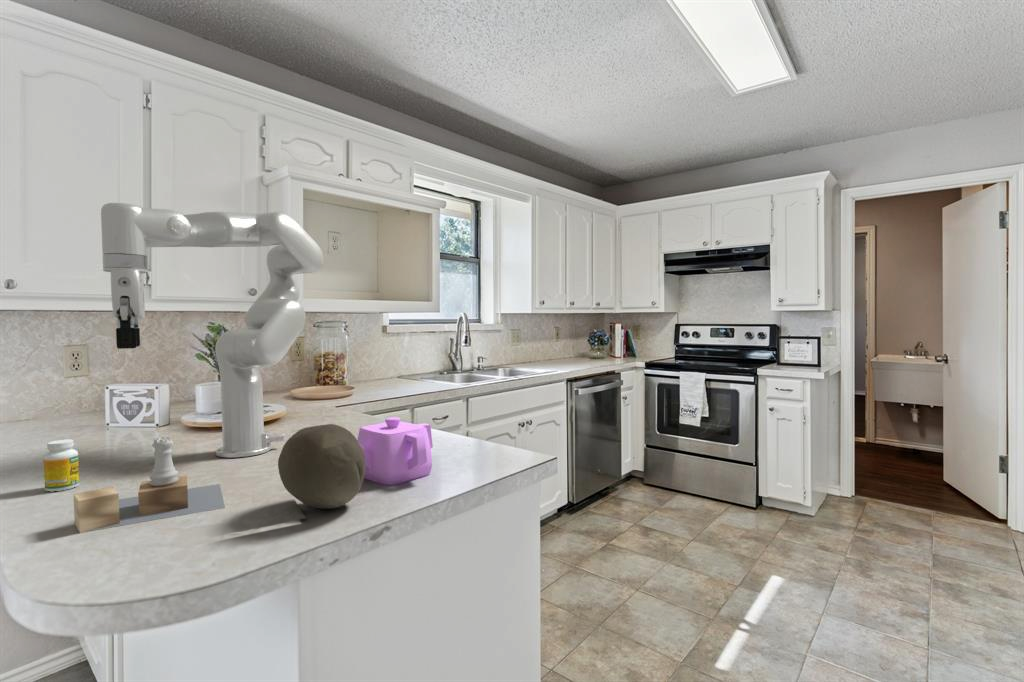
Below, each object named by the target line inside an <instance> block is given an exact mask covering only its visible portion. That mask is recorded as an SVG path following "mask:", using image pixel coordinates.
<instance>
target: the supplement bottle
mask: <svg viewBox="0 0 1024 682" xmlns="http://www.w3.org/2000/svg"><path fill="white" fill-rule="evenodd" d="M74 445H75V444H74V440H73V439H71V438H70V439H67V438H65V439H59V440H53V441H49V442H47V444H46V447H47V451H48V452H46V453H45V454H44V456H43V474H44V476H43V477H44V478H43V479H44V490H45V492H48V491H49V493H55V492H54V491H58V492H63V491H62V490H65V491H68V490H67V489H69V490H72V489H71V488H73V489H75V488H78V487H79V486H80V466H79V463H80V462H79V452H78V450H76V449H75V448H74ZM74 487H75V488H74Z"/></svg>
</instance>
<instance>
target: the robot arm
mask: <svg viewBox="0 0 1024 682" xmlns="http://www.w3.org/2000/svg"><path fill="white" fill-rule="evenodd" d="M100 219H101V222H100V224H101V226H100V227H101V246H102V247H101V249H102V271H103V272H105V273H106V272H107V273H110V290H111V291H110V292H111V305H112V313H113V314H112V315H113V318H114V319H116V328H115V338H116V349H118V350H119V349H121V350H122V349H124V350H125V349H136V348H137V347H140V346H141V335H140V333H141V331H140V327H139V320H144V319H145V318H146V310H145V287H144V277H143V274H148V273H149V260H148V258H149V257H148V248H186V247H187V248H188V247H189V248H191V247H192V248H193V247H194V248H239V247H241V248H242V247H245V248H247V247H249V248H251V247H254V248H255V247H257V248H260V247H271V246H273V247H271V248H270V249H269V250H268V252H267V254H266V255H267V256H266V264H267V266H266V267H267V269H268V274H269V282H268V285H267V286H266V288H265V289H264V290H263V292H262V293H261V294H260V295H259V296H258V298H256V300H255V302H253V304H252V305H251V306H250V307H249V309H248V310H247V312H246V314H245V318H244V323H245V326H246V328H234V329H230V330H227V331H225V332H224V333H222V334H221V335H220V336H219V337H218V339H217V340H216V343H215V349H214V351H215V358H216V360H217V366H218V369H219V376H220V377H219V378H220V398H221V399H220V401H221V429H222V430H221V432H222V437H221V438H222V446H221V447H218V448H217V449H216V450H215V455H216V456H217V457H220V458H229V459H230V458H232V459H233V458H234V459H235V458H244V457H251V456H257V455H261V454H264V453H267V452H269V451H270V450H271V449H272V443H273V442H283V441H285V435H284V433H272V434H270V433H267V432H266V431H265V427H264V425H265V424H264V421H265V420H264V394H263V392H264V391H263V390H264V385H263V383H264V382H263V379H262V375H261V372H260V369H259V368H268V367H273V366H275V365H276V364H278V363H280V361H281V360H282V359H283V358H284V357H285V356H286V355H287V353H288V352H289V350H290V348H291V347H292V345H294V343H295V342H296V340H297V338H299V336H300V335H301V333H302V331H303V330H304V327H305V324H306V318H307V317H306V316H307V315H306V310H305V308H304V306H303V305H302V304H301V303H300V302H299V301H298V300H299V297H300V288H299V284H298V281H297V277H296V275H298V274H312V273H316V272H317V271H319V270H321V268H322V266H323V265H324V253H323V251H322V249H321V247H320V246H319V244H318V243H317V242H316V241H315V240H314V239H313V238H312V237H311V236H310V234H308V232H306V230H305V229H304V228H303V227H302V226H301V225H300V224H299V223H298V222H297V221H296V220H295V219H294V218H293V217H291V216H290V215H288V214H287V213H285V212H284V211H283V212H282V211H270V212H264V213H263V212H262V213H250V212H249V213H248V212H229V211H206V212H200V213H190V214H182V213H181V212H179V211H176V210H173V209H167V208H152V207H151V208H150V207H149V208H148V207H142V206H139V205H136V204H130V203H123V202H107V203H104V204H103V205H102V206H101V209H100Z"/></svg>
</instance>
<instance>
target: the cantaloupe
mask: <svg viewBox="0 0 1024 682" xmlns="http://www.w3.org/2000/svg"><path fill="white" fill-rule="evenodd" d="M357 440H358V438H356V436H355V435H354V434H353V433H352V432H351V431H349V430H348V429H347V428H345V427H343V426H341V425H338V424H334V423H328V424H320V425H313V426H308V427H304V428H301V429H299V430H298V431H297V432H295V433H294V434H293V435H291V436H290V437H289V438H288V439H287V440H286V442H285V443H284V445H283V447H282V449H281V451H280V454H279V455H278V456H279V457H278V460H277V469H278V474H279V477H280V481H281V482H282V484H283V487H284V488H285V489H286V491H287V492H288V493H289V494H290V495H291V496H293V497H294V498H295V499H296V500H298V501H299V502H301V503H303V504H305V505H307V506H308V507H311V508H316V509H321V510H322V509H324V510H333V509H337V508H340V507H342V506H345V505H346V504H348V503H349V502H351V501H352V500H353V499H354V498H355V497H356V496H357V494H358V493H359V492H360V490H361V488H362V485H363V482H364V479H365V478H364V473H365V467H366V465H365V456H364V453H363V451H362V448H361V447H360V445H359V443H358V441H357Z"/></svg>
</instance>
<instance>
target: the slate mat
mask: <svg viewBox="0 0 1024 682" xmlns="http://www.w3.org/2000/svg"><path fill="white" fill-rule="evenodd" d="M225 508H226V506H225V501H224V497H223V492H222V488H221V484H220V483H217V484H210V485H204V486H197V487H191V488H188V508H184V509H178V510H172V511H166V512H160V513H155V514H149V515H143V516H139V499H138V495H137V496H133V497H126V498H119V518H120V524H116V525H112V526H107V527H103V528H99V529H95V530H90V531H86V532H82V533H80V532H79V531H78V534H83V533H88V532H95V531H100V530H101V531H102V530H106V529H112V528H117V527H125V526H128V525H133V524H134V525H135V524H140V523H145V522H151V521H157V520H163V519H169V518H174V517H182V516H186V515H192V514H196V513H197V514H198V513H203V512H208V511H214V510H219V509H220V510H221V509H225Z"/></svg>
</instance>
